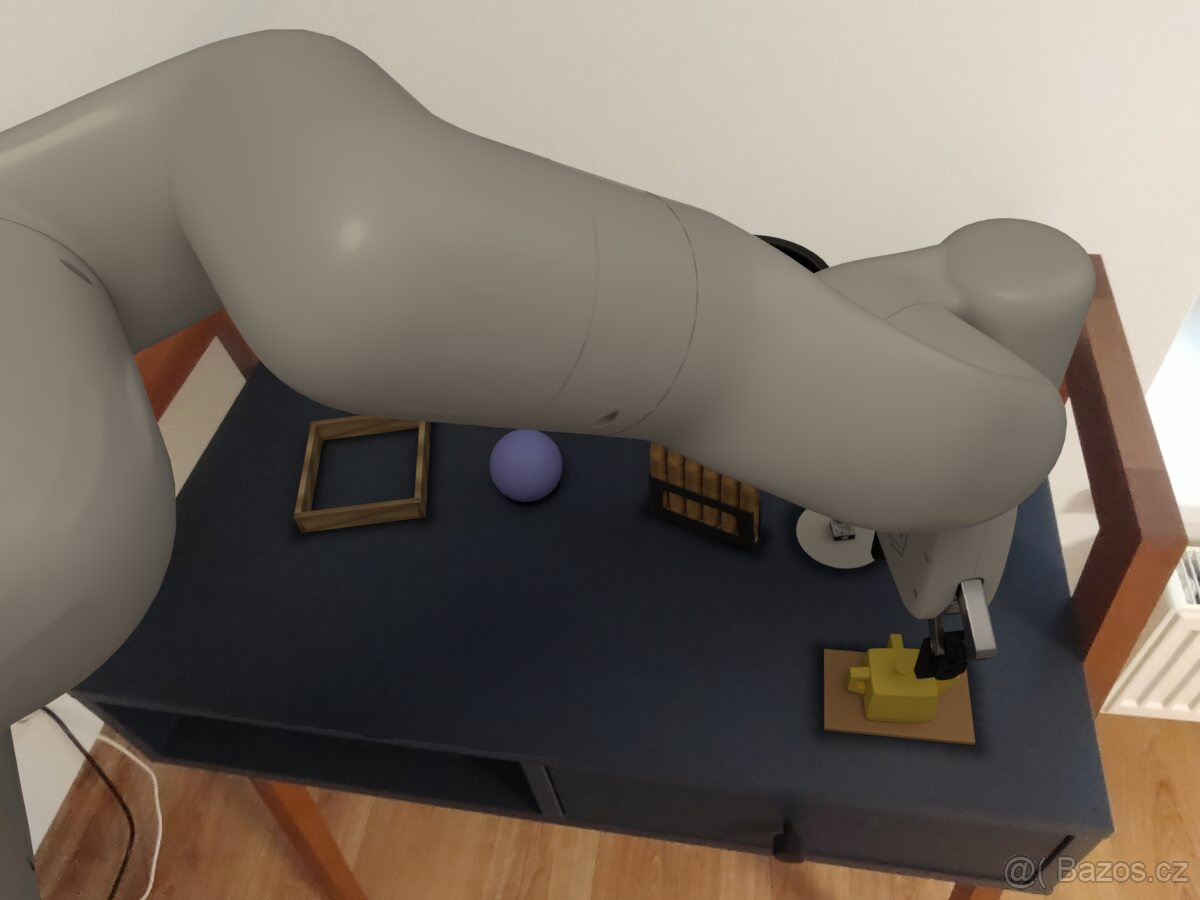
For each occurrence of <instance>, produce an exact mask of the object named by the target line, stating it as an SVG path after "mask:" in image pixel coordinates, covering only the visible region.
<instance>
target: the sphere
mask: <svg viewBox="0 0 1200 900" xmlns="http://www.w3.org/2000/svg"><path fill="white" fill-rule="evenodd" d="M489 474H490V476H491V480H492V483H493V484H494V486H495V487H496V488H497V489H498V490H499V492H500V493H501V494H502V495H504V496H505V497H507V498H509V499H511V500H513V501H517V502H521V503H527V502H529V503H530V502H536V501H538V500H542V499H543V498H544V497H547V496H549V495H550V494H551V493H552V492H553V491H554V490H555V488H556V487H557V486H558V484H559V482H560V479H561V477H562V474H563V457H562V454H561V452H560V449H559V447H558V445H557V444H556V443H555V442H554V440H553V439H552V438H550V436H548V435H547V434H546V433H543V432H542V431H538V430H525V429H515V430H513V431H510V432H508V433H507V434H504V436H503V437H502V438H501V439H499V440H498V441H497V443H496V444H495V446H494V448H493V450H492V451H491V453H490V458H489Z"/></svg>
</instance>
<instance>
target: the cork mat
mask: <svg viewBox="0 0 1200 900" xmlns="http://www.w3.org/2000/svg"><path fill="white" fill-rule="evenodd" d="M866 653H867V651H865V652H864V651H853V650H841V649H832V648H831V649H830V648H823V731H829V732H839V733H851V734H860V735H870V736H881V737H888V738H889V737H890V738H900V739H901V738H902V739H911V740H921V741H930V742H941V743H949V744H960V745H970V746H974V745H975V744H976V739H975V738H976V736H975V729H974V721H973V720H974V718H973V712H972V711H973V710H972V703H971V696H970V695H971V694H970V687H969V678H968V670H967V669H968V668H966V670H965V672H964V673H962V674H959V676H960V679H959V680H958V681H956V682H955V683H954V684H953V685H951V686H950V687H949V688H948V689H946V690H945V691H944V692H942V693H941V694H940V695H939V696H937V706H936V711H935V715H934V717H933V719H932V720H931V721H929V722H916V723H913V722H886V721H875V720H869V719H867V718H866V714H865V708H864V700H863V694H860V693H857V692H853V691H850V690H847V682H846V680H847V676H848V673H849V669H850V667H861V666H862V662H863V659H864V657H865V655H866Z"/></svg>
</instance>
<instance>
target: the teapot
mask: <svg viewBox="0 0 1200 900" xmlns="http://www.w3.org/2000/svg"><path fill="white" fill-rule="evenodd" d="M919 651H920V648H905V647H904V643H903V637H902V634H901V633H890V635H889V638H888V642H887V646H886V647H879V648H876V647H875V648H868V649H867V651H866V652H867V653H866V655H865V657H864V659H863V662H862V666H861V667H850V669H849V673H848V676H847V680H846V682H847V690H850V691H853V692H857V693H860V694H863V700H864V708H865V714H866V718H867V719H869V720H875V721H886V722H913V723H916V722H929V721H931V720H932V719H933V717H934V715H935V711H936V706H937V696H939V695H940V694H941V693H942V692H944V691H945V690H946V689H948V688H949V687H950V686H951V685H953V684H954V683H955V682H956V681H958V680H959V679H960V676H959V675H958V676H957V677H955V678H953V679H949V680H936V679H935V677H934V678H925V679H917V678H916V676H915V673H914V667H915V664H916V661H917V657H918V654H919Z"/></svg>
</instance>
